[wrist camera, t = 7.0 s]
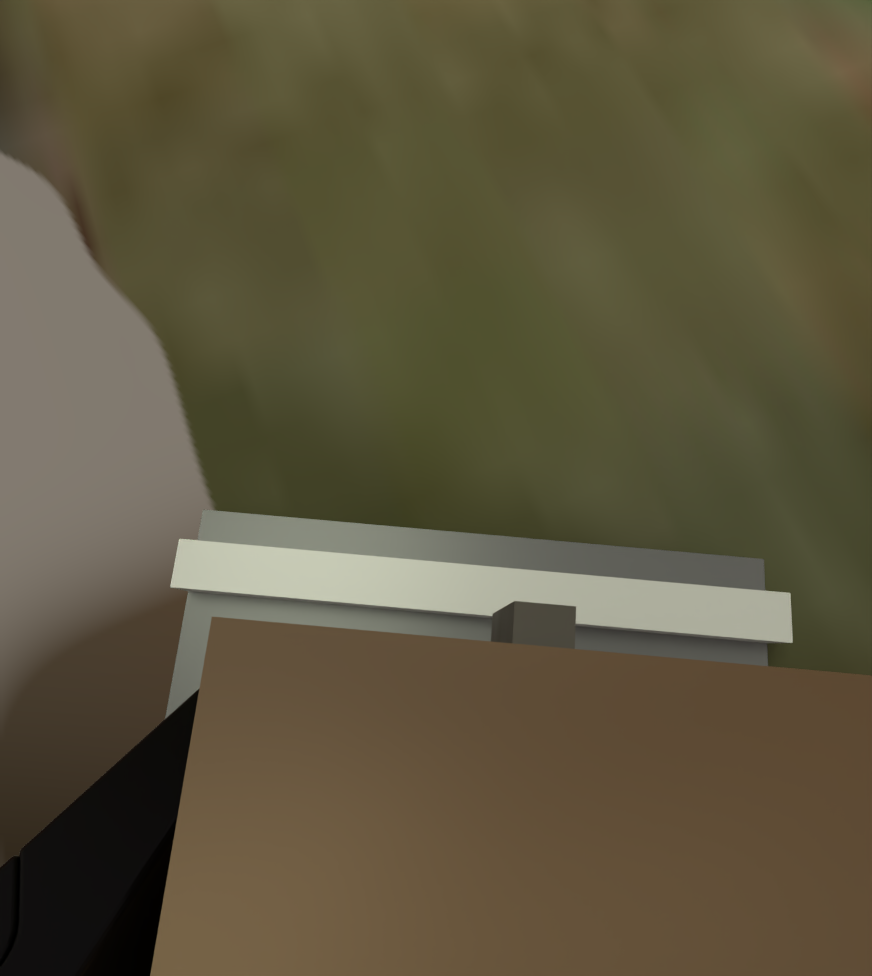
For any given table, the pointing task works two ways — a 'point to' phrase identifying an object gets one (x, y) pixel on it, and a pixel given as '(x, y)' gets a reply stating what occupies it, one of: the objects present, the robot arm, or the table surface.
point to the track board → (467, 588)
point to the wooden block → (515, 810)
